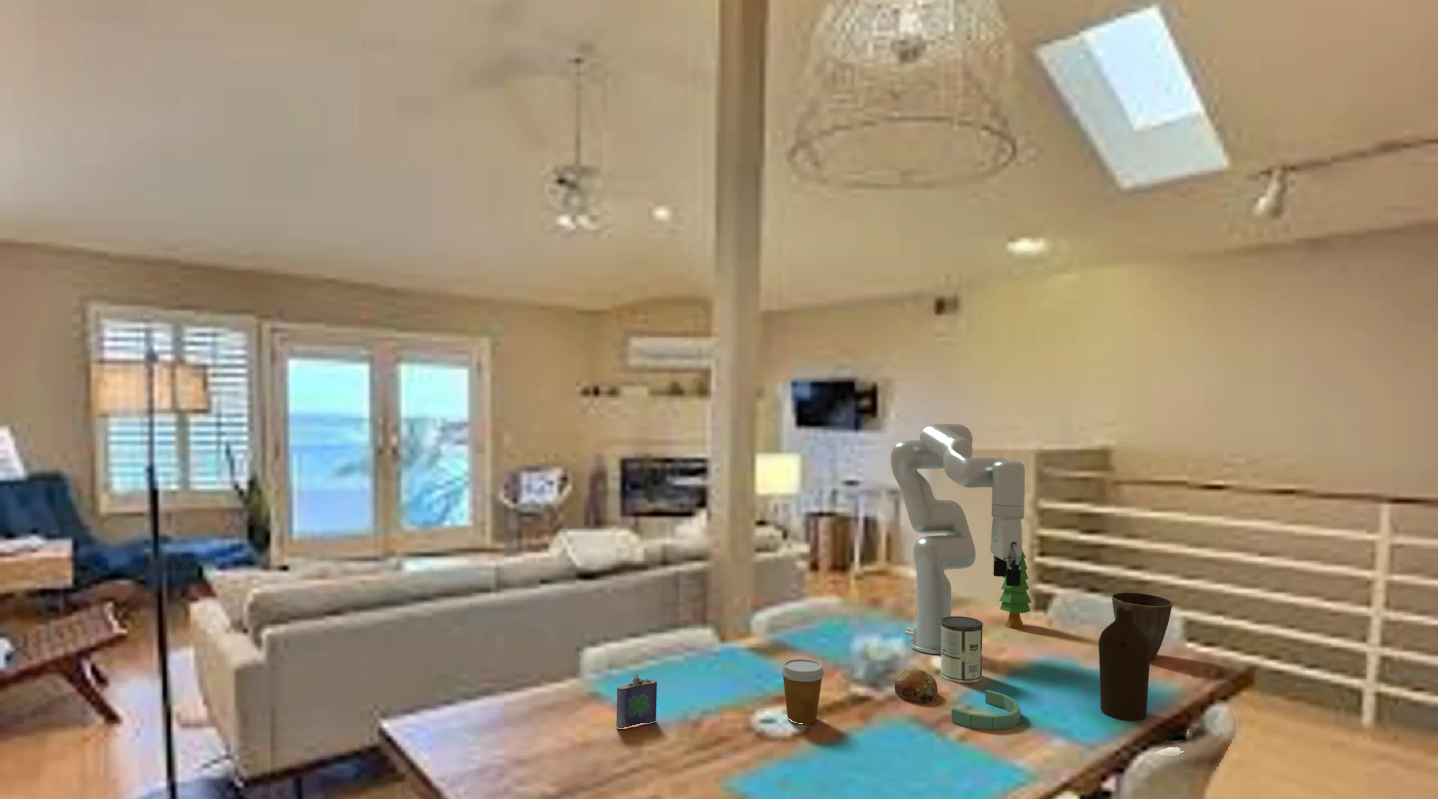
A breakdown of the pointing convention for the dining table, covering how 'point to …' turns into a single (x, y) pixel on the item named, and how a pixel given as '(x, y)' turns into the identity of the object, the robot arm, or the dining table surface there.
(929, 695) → the bread roll
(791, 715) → the disposable coffee cup
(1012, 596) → the decorative tree
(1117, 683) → the olive oil
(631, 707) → the flask
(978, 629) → the coffee can
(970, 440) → the robot arm
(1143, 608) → the plant pot
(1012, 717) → the segmented green arc
